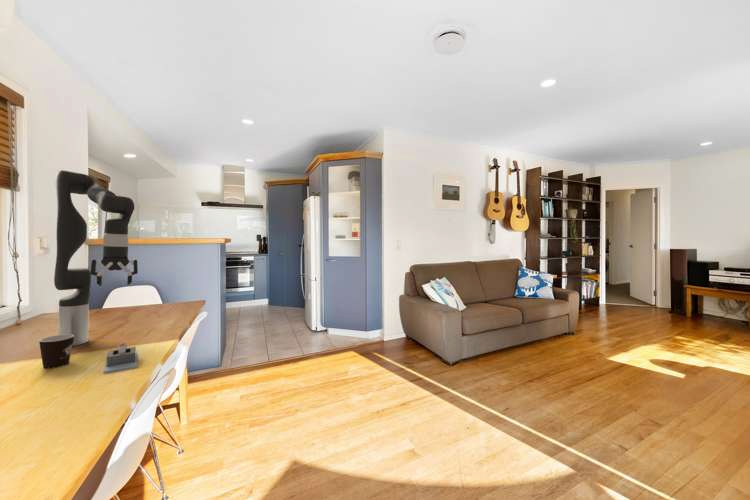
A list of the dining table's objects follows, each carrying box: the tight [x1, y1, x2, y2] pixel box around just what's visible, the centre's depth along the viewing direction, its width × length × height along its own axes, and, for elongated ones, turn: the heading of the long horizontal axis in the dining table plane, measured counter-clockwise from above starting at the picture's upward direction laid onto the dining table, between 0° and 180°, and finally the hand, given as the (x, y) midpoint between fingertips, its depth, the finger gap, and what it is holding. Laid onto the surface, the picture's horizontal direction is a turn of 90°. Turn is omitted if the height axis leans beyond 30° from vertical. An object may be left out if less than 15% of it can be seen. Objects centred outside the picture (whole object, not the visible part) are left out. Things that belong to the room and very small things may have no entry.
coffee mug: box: [38, 334, 74, 370], centre depth 109 cm, size 12×9×10 cm
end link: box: [106, 344, 137, 367], centre depth 113 cm, size 14×8×4 cm, turn 39°
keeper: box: [103, 342, 138, 375], centre depth 111 cm, size 16×9×8 cm, turn 39°
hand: (114, 285), depth 119 cm, fingers open, 8 cm apart
